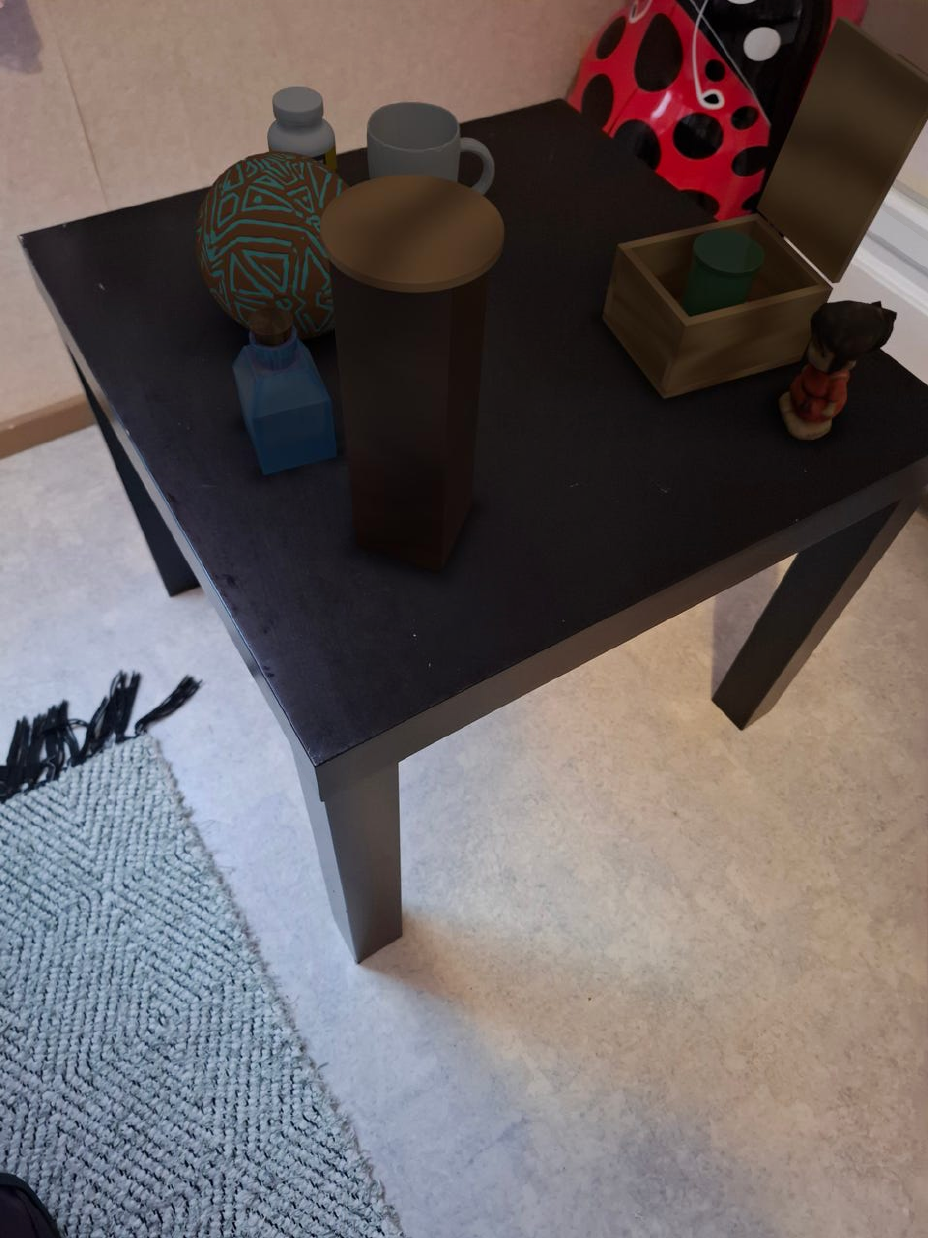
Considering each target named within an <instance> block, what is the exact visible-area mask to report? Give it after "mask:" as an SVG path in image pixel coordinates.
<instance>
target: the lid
mask: <svg viewBox="0 0 928 1238" xmlns="http://www.w3.org/2000/svg"><path fill="white" fill-rule="evenodd" d="M814 69H815V70H814V72H813V74H812V77H811V79H810V81H809V84H808V86H807V88H806V90H805V93H804V95H803V98H802V100H801V102H800V105H799V107H798V109H797V111H796V114H795V116H794V119H793V121H792V122H791V123H792V124H791V126H790V128H789V131H788V133H787V135H786V137H785V140H784V142H783V144H782V147H781V149H780V152H779V154H778V156H777V159H776V160H775V163H774V165H773V168H772V170H771V173H770V175H769V178H768V179H767V182H766V185H765V186H764V189H763V192H762V194H761V196H760V199H759V201H758V204H757V206H756V209H757V211H758V212H760V214H762V216H764V218H766V220H767V221H768V222H769V223H770V224H772V226H774V227H775V228H776V229H777V230H778V231H779V233H780V234H782V235H783V236H784V238H786V239H787V241H789V242H790V243H791V244H792V245H793V246H794V247H795V248H796V249H797V250H798V251H799V252H800V253H801V254H802V255H803V256H804V258H806V259H807V260H808V261H809V263H811V264H812V265H813V266H814V267H815V268H816V269H817V270H818V271H819V272H820V273H821V275H823V276H824V277H825V278H826V279H827V280H828V281H829V282H830V283H831V284H833V285H834V284H839V283H840V282H841V280H842V279H843V277H844V275H845V273H846V272H847V269H848V268H849V266H850V264H851V262H852V260H853V259H854V256H855V255H856V254H857V251H858V249H859V247H860V245H861V244H862V243H863V240H864V238H865V236H866V234H867V232H868V231H869V229H870V227H871V225H872V223H873V222H874V220H875V218H876V217H877V214H878V213H879V210H880V209H881V207H882V205H883V203H884V201H885V200H886V197H887V195H888V194H889V192H890V190H891V188H892V187H893V185H894V183H895V181H896V179H897V177H898V176H899V174H900V172H901V170H902V168H903V166H904V165H905V163H906V161H907V159H908V158H909V155H910V154H911V151H912V150H913V148H914V146H915V144H916V143H917V141H918V138H919V137H920V135H921V133H922V131H923V130H924V128H925V126H926V124H927V122H928V73H927V72H926V71H924V70H923V69H922V68H920V67H919V66H918V65H916V64H915V63H913V62H912V61H911V60H909V59H908V58H907V57H905V56H904V55H902V54H901V53H896V52H894V51H893V50H892V49H890V48H889V47H888V46H886V45H885V44H883V43H882V42H880V41H879V40H878V39H877V38H875V37H874V36H872V35H871V34H870V33H868V32H867V31H866V30H864V29H863V28H861V27H860V26H859V25H857V24H856V23H854V22H853V21H852V20H850V19H849V18H848V17H847V16H837V18H836V20H835V22H834V24H833V27H832V29H831V31H830V33H829V37H828V38H827V41H826V44H825V46H824V47H823V51H822V52H821V55H820V58H819V60H818V62H817V65H816V68H814Z"/></svg>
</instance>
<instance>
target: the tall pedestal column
mask: <svg viewBox="0 0 928 1238" xmlns="http://www.w3.org/2000/svg"><path fill="white" fill-rule="evenodd" d="M349 187H350V188H348V189H346V190H345V191H343V192H342V193H340V194H339V195H338V196H336V197H335V198H334V199H333V200H332V201H331V202H330V203H329V204H328V206H327V207H326V209H325V210H324V212H323V215H322V217H321V221H320V237H321V243H322V247H323V250H324V252H325V253H326V255H327V257H328V260H329V271H330V281H331V292H332V302H333V313H334V323H335V329H334V331H335V341H336V342H335V343H336V353H337V364H338V373H339V384H340V394H341V395H340V396H341V403H342V404H341V405H342V406H341V407H342V415H343V416H342V417H343V426H344V438H345V447H346V458H347V467H348V478H349V489H350V501H351V510H352V511H351V512H352V520H353V521H352V522H353V531H354V541H355V547H356V548H359V549H362V550H365V551H368V552H372V553H374V554H377V555H378V554H379V555H381V556H384V557H388V558H390V559H394V560H397V561H400V562H403V563H407V564H410V565H414V566H417V567H420V568H423V569H427V570H430V571H433V572H437V573H439V574H441V573H443V570H444V568H445V565H446V563H447V561H448V559H449V556H450V554H451V552H452V550H453V547H454V545H455V543H456V542H457V538H458V537H459V534H460V532H461V530H462V528H463V526H464V523H465V521H466V519H467V517H468V514H469V512H470V510H471V508H472V497H473V496H472V495H473V481H474V471H475V469H474V468H475V455H476V454H475V453H476V441H477V429H478V418H479V417H478V415H479V404H480V402H479V401H480V390H481V376H482V366H483V365H482V362H483V351H484V349H483V348H484V337H485V324H486V323H485V322H486V310H487V298H488V284H489V272H490V271H489V270H490V269H491V268H492V267H493V266H494V265H495V264H496V262H497V261H498V259H499V258H500V256H501V254H502V252H503V248H504V244H505V225H504V219H503V217H502V216H501V213H500V211H499V210H498V209H497V207H496V206H495V205H494V204H493V203H492V202H491V201H490V200H489V199H488V198H486V196H485V195H484V196H483V195H481V194H480V193H478V192H476V191H475V190H473V189H471V187H469V186H467V185H465V184H462V183H460V182H458V181H457V182H454V181H451V180H447V179H443V178H438V177H433V176H425V175H393V176H385V177H379V178H375V179H371V180H370V179H368V180H365V181H362V182H359V183H356V184H354V185H352V186H349Z"/></svg>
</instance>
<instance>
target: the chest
mask: <svg viewBox="0 0 928 1238" xmlns="http://www.w3.org/2000/svg"><path fill="white" fill-rule="evenodd" d="M712 230H731V231H736V232H740V233H742V234H745V235H747V236H749V237H751V238H752V239H754V240H755V241H756V242H758V243H759V244H760V246H761V247H762V248H763V250H764V254H765V258H764V262H763V264H762V267H761V268H760V270H759V271H758V272H756V275H755V278H754V280H753V283H752V286H751V289H750V291H749V294H748V297H747V300H746V302H745V303H744V304H740V305H736V306H732V307H728V308H724V309H720V310H716V311H712V312H708V313H704V314H700V315H696V316H693V317H689V316H688V315H687V314H686V312H685V311H684V310H683V309H682V308H681V307H680V305H679V303H680V299H681V296H682V293H683V289H684V286H685V282H686V279H687V275H688V272H689V269H690V265H691V262H692V258H693V255H692V248H693V244H694V242H695V240H696V238H697V237H698V236H699V235H701V234H703V233H705V232H708V231H712ZM615 249H616V250H615V255H614V260H613V264H612V269H611V273H610V280H609V282H608V288H607V292H606V298H605V301H604V302H605V303H604V306H603V312H602V318H601V319H602V321H603V322H604V323H605V324H606V326H607V327H608V329H609V330H610V331H611V333H612V334H613V335H614V336H615V338H616V339H617V340H618V342H619V343H620V344H621V345H622V347H623V348H624V349H625V351H626V352H627V353H628V355H629V356H630V357H631V358H632V360H633V361H634V362H635V364H636V365H637V367H638V368H639V369H640V370H641V372H642V373H643V374H644V376H645V377H646V378H647V380H648V381H649V382H650V383H651V385H652V386H653V387H654V389H655V390H656V391H657V393H658V394H659V395H660V397H662V399H663V400H666V399H669V398H672V397H676V396H680V395H684V394H688V393H690V392H695V391H697V390H701V389H705V388H708V387H711V386H715V385H719V384H723V383H727V382H730V381H733V380H737V379H741V378H745V377H748V376H752V375H756V374H759V373H763V372H765V371H770V370H774V369H778V368H781V367H784V366H787V365H790V364H795V363H799V362H801V360H802V358H803V356H804V354H805V352H806V350H807V349H808V348H807V347H808V346H809V344H810V342H811V340H812V338H813V336H812V333H811V322H810V320H811V318H812V315H813V313H815V312H816V311H817V310H818V309H819V308H820V306H821V305H822V304H823V303H829V302H828V301H829V299H830V297H831V295H832V293H833V291H834V287H833V286H832V285H831V284H830V283H829V282H828V281H827V280H826V279H825V278H824V277H823V276H822V274H820V273H819V272H818V271H816V269H814V267H813V266H812V265H811V264H810V262H809V263H808V261H807V260H806V259H805V257H803V256H802V255H801V254H800V253H799V252H798V251H797V250H796V249H795V248H794V247H792V245H791V244H789V243H788V241H787V240H785V238H784V237H783V236H782V235H780V233H779V232H778V231H776V229H775V228H774V227H773V226H772V225H770V224H769V223H768V222H767V220H765V219H764V218H763V216H762V215H760V214H759V212H755V213H752V214H746V215H742V216H737V217H733V218H730V219H729V218H727V219H724V220H719V221H717V222H716V221H715V222H711V223H707V224H702V225H698V226H697V225H696V226H693V227H688V228H684V229H680V230H675V231H671V232H666V233H662V234H657V235H653V236H649V237H643V238H639V239H636V240H635V239H634V240H630V241H626V242H621V243H618V244H617V245H616V248H615Z"/></svg>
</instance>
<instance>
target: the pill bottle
mask: <svg viewBox="0 0 928 1238" xmlns="http://www.w3.org/2000/svg"><path fill="white" fill-rule="evenodd" d="M271 99H272V100H271V102H272V103H271V104H272V112H273V116H274V118H275V120H274V121H273V122H272V123H271V124H270V125H269V128H268V131H267V134H266V139H267V148H268V152H271V151H281V152H293V153H297V154H301V155H305V156H308V157H310V158H313V159H315V160H317V161H318V162H320V163H323V164H324V165H326V166H327V167H329V168H330V169H332V170H333V171H334V172H335V173H336V174H337V175H339V172H338V171H339V170H338V159H337V158H338V157H337V144H336V134H335V131H334V128H333V127H332V125H331V124H330V123H329V122H328V120H326V119H325V118H323V117H324V113H325V111H324V99H323V96H322V94H320V92H319V91H317V90H316V89H313V88H310V87H307V86H288V87H284V88H281V89H280V90H278V91H276V92H275V93H274V94H273V95H272V97H271Z"/></svg>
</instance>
